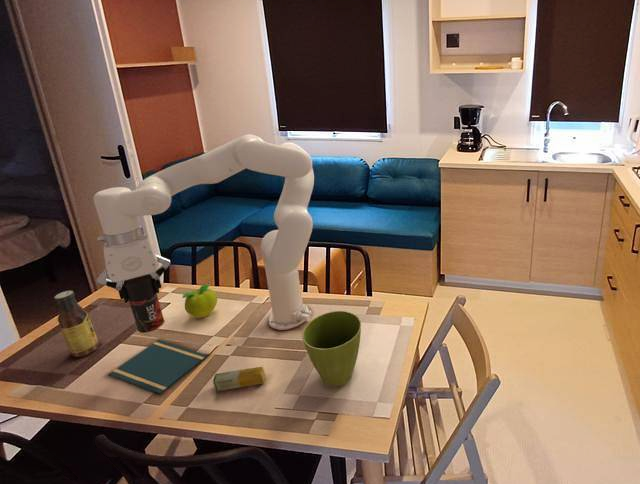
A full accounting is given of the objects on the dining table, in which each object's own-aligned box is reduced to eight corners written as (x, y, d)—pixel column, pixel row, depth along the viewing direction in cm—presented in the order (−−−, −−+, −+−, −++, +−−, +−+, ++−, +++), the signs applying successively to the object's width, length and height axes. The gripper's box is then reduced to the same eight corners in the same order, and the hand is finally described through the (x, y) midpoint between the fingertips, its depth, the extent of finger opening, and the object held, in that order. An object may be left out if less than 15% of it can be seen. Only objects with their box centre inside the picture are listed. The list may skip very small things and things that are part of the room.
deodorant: (150, 334, 104) (136, 286, 100) (132, 331, 105) (117, 283, 101) (169, 319, 110) (157, 273, 105) (152, 317, 111) (139, 271, 106)
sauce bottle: (104, 346, 118) (84, 291, 112) (78, 361, 113) (56, 303, 106) (92, 340, 121) (72, 285, 114) (67, 354, 115) (44, 297, 109)
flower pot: (302, 371, 109) (295, 324, 104) (352, 348, 117) (348, 303, 112) (319, 409, 97) (312, 358, 92) (374, 381, 105) (370, 332, 100)
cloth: (207, 356, 114) (207, 354, 114) (160, 394, 102) (159, 392, 101) (159, 340, 120) (158, 339, 120) (109, 374, 108) (108, 373, 108)
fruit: (182, 317, 131) (175, 292, 128) (210, 302, 138) (205, 278, 135) (196, 327, 126) (190, 301, 123) (225, 311, 134) (219, 286, 131)
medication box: (215, 392, 102) (211, 381, 101) (219, 383, 105) (215, 373, 103) (264, 384, 104) (261, 373, 103) (266, 375, 107) (263, 365, 105)
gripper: (77, 251, 91) (99, 315, 97) (166, 231, 101) (181, 290, 107) (81, 239, 97) (101, 300, 102) (165, 221, 107) (179, 278, 112)
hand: (142, 294), depth 104 cm, fingers closed on deodorant, 6 cm apart
